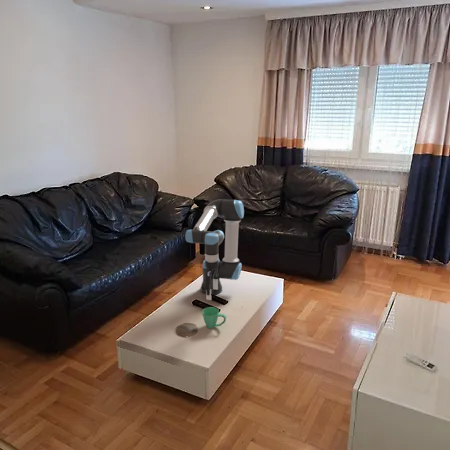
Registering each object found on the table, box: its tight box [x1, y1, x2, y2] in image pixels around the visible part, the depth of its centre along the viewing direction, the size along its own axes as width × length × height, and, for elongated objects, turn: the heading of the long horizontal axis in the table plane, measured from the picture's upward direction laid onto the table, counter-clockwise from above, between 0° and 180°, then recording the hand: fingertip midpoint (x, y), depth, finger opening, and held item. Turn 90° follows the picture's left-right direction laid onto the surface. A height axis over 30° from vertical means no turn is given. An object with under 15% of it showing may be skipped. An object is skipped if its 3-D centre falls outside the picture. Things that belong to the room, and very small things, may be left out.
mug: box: [201, 306, 227, 329], centre depth 234 cm, size 15×10×10 cm
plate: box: [175, 322, 199, 338], centre depth 232 cm, size 13×13×1 cm
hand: (212, 294), depth 230 cm, fingers open, 13 cm apart
